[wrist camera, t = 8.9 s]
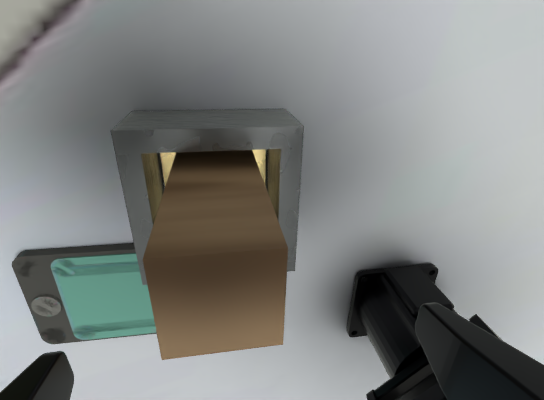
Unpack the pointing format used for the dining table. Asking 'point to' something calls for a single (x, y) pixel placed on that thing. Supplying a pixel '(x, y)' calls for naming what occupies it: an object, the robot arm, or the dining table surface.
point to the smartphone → (85, 292)
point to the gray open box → (207, 137)
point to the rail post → (216, 258)
